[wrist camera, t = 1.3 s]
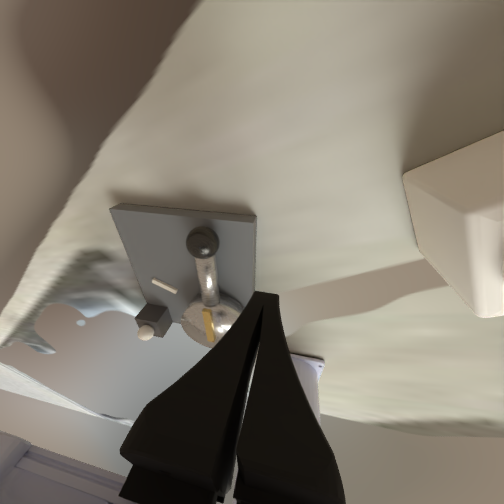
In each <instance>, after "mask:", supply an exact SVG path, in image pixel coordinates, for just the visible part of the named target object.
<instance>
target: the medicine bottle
mask: <svg viewBox="0 0 504 504" xmlns="http://www.w3.org/2000/svg"><path fill="white" fill-rule="evenodd" d="M402 180H403V184H404V188H405V193H406V197H407V201H408V205H409V210H410V214H411V218H412V222H413V227H414V231H415V235H416V240H417V244H418V248H419V251H420V253H421V254H422V255H423V256H424V257H425V258H426V259H427V261H428V262H429V263H430V264H431V265H432V266H433V267H434V268H435V270H436V271H437V272H438V273H439V274H440V275H441V276H442V277H443V279H444V280H445V281H446V282H447V283H448V284H449V285H450V287H451V288H452V289H453V290H454V291H455V292H456V293H457V294H458V296H459V297H460V298H461V299H462V300H463V301H464V302H465V304H466V305H467V306H468V307H469V308H470V309H471V310H472V311H473V313H474V314H475V315H477V316H479V317H482V318H489V317H496V316H503V315H504V130H503V131H501V132H499V133H496V134H494V135H492V136H489V137H487V138H485V139H482V140H480V141H478V142H475V143H473V144H471V145H468V146H466V147H464V148H461V149H459V150H457V151H454V152H452V153H450V154H448V155H445V156H443V157H441V158H438V159H436V160H434V161H431V162H429V163H427V164H424V165H422V166H420V167H417V168H415V169H413V170H410V171H408V172H406V173H404V175H403V176H402Z"/></svg>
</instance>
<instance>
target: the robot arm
mask: <svg viewBox="0 0 504 504" xmlns="http://www.w3.org/2000/svg"><path fill="white" fill-rule="evenodd" d="M259 344H260V345H259ZM258 347H259V350H258ZM257 351H258V355H257ZM256 355H257V360H256V365H255V369H254V374H253V379H252V383H251V388H250V392H249V397H248V401H247V406H246V410H245V415H244V419H243V414H244V408H245V403H246V398H247V392H248V387H249V382H250V377H251V373H252V370H253V366H254V362H255V358H256ZM324 366H325V362H324V361H323V360H319V359H314V358H309V357H304V356H299V355H294V354H290V352H289V349H288V345H287V342H286V338H285V335H284V330H283V326H282V322H281V316H280V308H279V295H278V294H272V293H265V292H259V291H255V292H253V294H252V296H251V298H250V300H249V302H248V303H247V305H246V307H245V308H244V310H243V311H242V313H241V314H240V315H239V317H238V318H237V320H236V321H235V322H234V324H233V325H232V326H231V327H230V329H229V330H228V331H227V332H226V334H225V335H224V336H223V337H222V338H221V339H220V340H219V342H218V343H217V344H216V345H215V346H214V347H213V348H212V349H211V350H210V351H209V352H208V353H207V354H206V355H205V356H204V357H203V358H202V359H201V360H200V361H199V362H198V363H197V364H196V365H195V366H194V367H193V368H191V369H190V370H189V371H188V372H187V373H185V374H184V375H183V376H182V377H181V378H180V379H179V380H177V381H176V382H175V383H174V384H173V385H171V386H170V387H169V388H167V389H166V390H165V391H164V392H162V393H161V394H160V395H158V396H157V397H156V398H155V399H153V400H152V401H150V402H149V403H148V404H147V405H146V407H145V408H144V409H143V411H142V412H141V414H140V415H139V417H138V418H137V420H136V421H135V422H134V424H133V426H132V428H131V430H130V431H129V433H128V435H127V437H126V439H125V440H124V442H123V444H122V446H121V448H120V454H121V455H122V456H123V457H124V458H125V459H126V460H128V461H129V462H131V463H132V464H133V466H132V468H131V470H130V473H129V475H128V477H124V476H122V475H119V474H116V473H113V472H110V471H107V470H104V469H101V468H98V467H95V466H92V465H89V464H87V463H84V462H81V461H78V460H75V459H72V458H69V457H66V456H63V455H60V454H57V453H55V452H52V451H49V450H46V449H43V448H40V447H37V446H34V445H31V443H30V442H28V441H26V440H24V439H22V438H20V437H17V436H14V435H11V434H8V433H6V432H3V431H0V504H216V501H217V502H220V503H224V498H225V494H226V493H227V492H228V491H229V490H230V489H231V485H232V479H233V472H234V467H235V460H236V455H237V462H238V469H237V474H236V480H235V487H234V494H233V504H346V502H345V495H344V489H343V484H342V480H341V476H340V473H339V470H338V466H337V463H336V460H335V456H334V453H333V451H332V449H331V447H330V445H329V443H328V441H327V440H326V437H325V435H324V434H323V432H322V429H321V426H320V409H319V393H318V381H319V378H320V376H321V373H322V371H323V368H324ZM242 420H243V423H242ZM241 426H242V427H241Z"/></svg>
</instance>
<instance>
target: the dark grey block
mask: <svg viewBox="0 0 504 504" xmlns="http://www.w3.org/2000/svg"><path fill="white" fill-rule="evenodd" d="M135 320H136V322H137V324H138V326H139V328H140V329H139V330H138V337H139V339H141V340H144V341H145V340H148V339H150V338H151V337H152V336H158V337H162V338H163V337H164V335H165V334H166V332H167V330H168V329H169V327H170V326H171V324H172V322H173V321H172V318H171V315H170V312H169V309H168V307H164V306H158V305H153V304H146V305H145V306H144V308H143V309H142V310H141V311H140V312H139V314H138V315H137V316H136V317H135Z"/></svg>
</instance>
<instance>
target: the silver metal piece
mask: <svg viewBox="0 0 504 504" xmlns="http://www.w3.org/2000/svg"><path fill="white" fill-rule="evenodd" d="M219 246H220V240H219V237H218V235H217V233H216V232H215V231H214V230H213V229H211V228H209V227H206V226H199V227H196V228H194V229H192V230H191V231H190V232H189V233H188V235H187V237H186V248H187V250H188V252H189V253H190V254H191V255H192V256H193V257H194V258H195V263H196V269H197V274H198V280H199V285H200V291H201V293H199V294H197V295H195V296H194V297H193V299H192V300H191V302H190V303H189V305H188V307H187V308H186V310H185V312H184V313H183V315H182V317H181V325H182V327H183V329H184V331H185V332H186V333H187V335H188V336H190V337H191V338H192V339H193V340H195V341H196V342H198V343H200V344H202V345H204V346H206V347H209V348H213V347H214V346H215V345H216V344H217V343H218V342H219V340H220V339H221V338H222V337H223V336H224V335H225V334H226V332H227V331H228V330H229V329H230V327H231V326H232V325H233V324H234V322H235V321H236V320H237V318H238V317H239V315H240V314H241V313H242V311H243V310H244V308H243V307H242V305H241V304H240V303H239V302H237V301H236V300H235V299H233V298H232V297H230V296H228V295H225V294H223V293H219V284H218V275H217V266H216V257H215V254H216V253H217V251H218V249H219Z"/></svg>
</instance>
